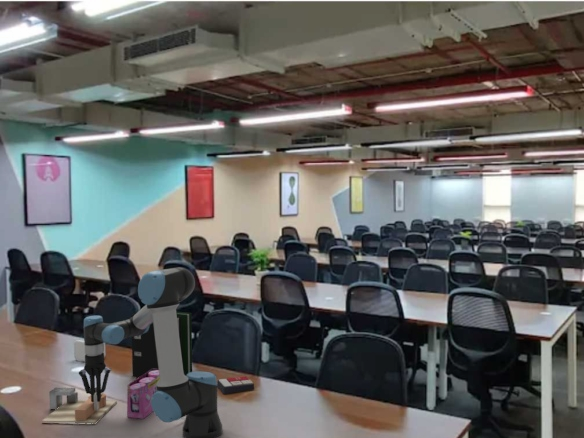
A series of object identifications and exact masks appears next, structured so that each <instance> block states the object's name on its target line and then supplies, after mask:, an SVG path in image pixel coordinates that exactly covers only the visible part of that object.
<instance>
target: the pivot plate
mask: <svg viewBox="0 0 584 438" xmlns="http://www.w3.org/2000/svg"><path fill="white" fill-rule="evenodd" d="M95 393H97V391H96V387H95ZM87 400H88V399H78V402H76V403H67V401H66V402H63V403H62V405H61V406H60V407H59V408H58V409H56V410H53V411H52V412H51V413H49V415H47V416H46V417H44V419H42V420H41V422H42V421H47V422H48V421H49V422H75V423H85V424H87V423H91V424H92V423H93V424H95V423H96V422H97V421H98V420H99V419H100V418H101V419H102V418H104V416H106V414H107V413H109V412H110V411H111V410H112V408H115V406H116V405H117V403H118V402H117V400H106V405H105V406H103V407H100V408H99V409H98V410H96V411H95V412H94V413H93V414H92V415H91V416H90V417H88V418H87V419H86V420H75V409H77V408H78V407H79V406H80V405H82V404H83V403H84V402H85V401H87ZM101 419H100V420H101ZM100 420H99V421H100ZM99 421H98V422H99ZM98 422H97V423H98ZM97 423H96V424H97ZM96 424H95V425H96Z"/></svg>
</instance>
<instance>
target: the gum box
mask: <svg viewBox="0 0 584 438" xmlns="http://www.w3.org/2000/svg"><path fill="white" fill-rule="evenodd" d="M159 379H160V376H159V369H155V368H153V369H151V370H150V371H148V372H147V373H145V374H144V375H142V376H141V377H137V378H136V379H134V380H133V381H132V382H130V383H128V385H127V395H126V397H127V400H126V401H127V404H126V405H127V406H126V410H127V411H126V415H127V416H126V417H127V418H133V419H141V418H142V420H143V419H145V418H146V417H147V416H149V415H150V414H152V412H153V413H154V411H153V409H152V405H151V398H152V396H153V394H154V393H155V392H157V387H156V384H157V382H158V381H159Z"/></svg>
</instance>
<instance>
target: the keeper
mask: <svg viewBox="0 0 584 438" xmlns="http://www.w3.org/2000/svg"><path fill="white" fill-rule="evenodd" d="M48 396H49V410H50V409H57V408H58V407H60V406H61V405H63V396H66V402H67V403H76V402H78V400H79V397H78V396H79V394H78V392H77V391H76V387H54V388H53V389H51V390H49V395H48Z"/></svg>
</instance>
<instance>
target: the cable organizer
mask: <svg viewBox="0 0 584 438" xmlns="http://www.w3.org/2000/svg"><path fill="white" fill-rule="evenodd" d="M84 344H85V343H84V340H80V339H77V340H74V342H73V357H74V360H75V361H77V362H81V363H82V362H85V355H86V354H85V346H84ZM103 353H104V358H105V357H106V343H104V352H103Z"/></svg>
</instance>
